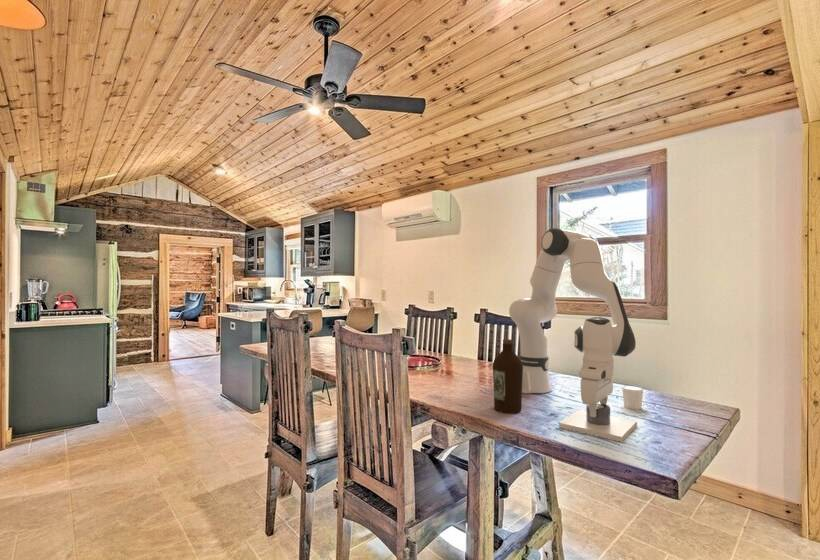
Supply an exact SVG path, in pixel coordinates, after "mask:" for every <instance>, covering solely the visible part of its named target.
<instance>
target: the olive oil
mask: <svg viewBox="0 0 820 560" xmlns="http://www.w3.org/2000/svg"><path fill="white" fill-rule="evenodd" d="M502 342H503V343H502V351H500V353H499V354H498V355H497V356H496V357H495V358H494V359H493V363H492V381H493V382H492V383H493V385H492V386H493V402H494V403H493V406H494V408H493V409H494V410H495V411H497V412H499V413H502V414H503V413H504V414H519V413H520V412H522V401H523V400H522V398H523V397H522V395H523V393H522V378H523V365H522V362H521V360H520V358H519V357H518V356H519V355H517V354H516V353H515V351H513V340H512V339H510V338H509V339H506V338H505V339H502Z"/></svg>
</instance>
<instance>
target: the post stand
mask: <svg viewBox="0 0 820 560" xmlns="http://www.w3.org/2000/svg"><path fill="white" fill-rule="evenodd" d="M596 408H604V406H602V405H597V406H596ZM637 426H638V420H634V419H629V418H624V417H619V416H614V415H610V424H609V425H595V424H591V423H589V422H587V420H586V410H583V409H577V411H574V412H573V413H571V414H570V415H568V416H567V417H566V418H564V419H563V420H561V421H560V422H558V427H561V428H560V429H563V428H565V430H568V429H569V430H568V431H572V430H574V431H573V432H576V431H579V432H578V433H580V432H583V433H582V434H585V433H588V434H587V435H589V434H592V435H591V436H593V435H597V436H596V437H598V436H601V437H600V438H602V437H605V438H604V439H606V438H609V439H608V440H610V439H612V440H611V441H615V440H616V442H619V441H620V442H619V443H623V442H624V440H625V439H626V438H627V437H628V436H629V435H630V434H631V433H632V432H633V431H634V430H635V428H637Z"/></svg>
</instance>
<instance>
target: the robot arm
mask: <svg viewBox="0 0 820 560" xmlns="http://www.w3.org/2000/svg"><path fill="white" fill-rule="evenodd" d="M541 247H542V249H541V251H540V253H539V255H538V258H537V260H536V263H535V265H534V269H533V271H532V274H531V277H530V280H529V283H530V285H531V289H532V291H531V296H530V297H525V298H524V297H523V298H522V297H521V298H520V299H516V300H515V301H513V302H511V304H510V306H509V308H508V313H509V317H510V319H511V320H512V322H514V323H515V326H516V328H517V332H518V334H519V341H520V342H519V343H520V344H519V345H520V351H519V352H520V354H519V355H517V356H518V357H519V358H520V360H521V362H522V365H523V378H522V394H544V393H549V392H551V391H552V386H551V382H550V378H549V368H550V367H549V366H550V363H549V362H550V361H549V356H548V338H547V337H548V336H546V335H545V334H544V333H543V329H542V326H541V323H547V322H550V321H552V320H553V319H555V318H556V316H557V314H558V307H557V304H556V293H557V288H558V285H559V282H560V280H561V277H562V274H563V271H564V269H565V265H566V263H567V261H569V268H570V269H569V271H570V278H571V282H572V284H573V285H574V286H575V288H577V289H578V290H579V291H581V292H583V293H585V294H588V295H591V296H594V297H595V298H598V299H600V300H602V301H604V302H605V303H606V304H607V306H608V309H609V313H610V316H611V319H612V321H611V320H610V319H608V318H606V317H602V316H591V317H587V318H585V319H584V324H583V325H580V326H579V327H577V329H575V330H574V348H575V350H577V351H579V352H580V353H582V354H583V356H582V365H581V368H580V369H579V371H578V377H579V378H581V380H580V398H581V402H582V404H584V405H586V404H588V407H589V411H590V416H591V417H596V416H597V411H596V406H597V403H601V404H605V405H608V404H607V403H608V398H609V396H610V395H611V394H612V393H613V391H614V383H613V382H614V380H613V377H614V375H615V372H614V371H615V368H614V367H615V366H614V365H615V364H614V357H613V356H615V357H623V358H624V357H627V356H629V355H630V354H632V352H634V351H635V349H636V344H637V343H636V337H635V334H634V331H633V329H632V327H631V324H630V322H629V319H628V318H629V317H628V315H627V312H626V309H625V306H624V302H623V300H622V296H621V293H620V290H619V287H618V285H617V284H616V282H615V280H614V281H613V280H611V279H610V278H609V277H608V275H607V273H606V271H605V267H604V266H605V265H604V261H603V259H604V258H603V254H602V250H601V248H600V244H599V241H598V238H597V237H594V236H593V235H590V234H585V233H583V232H580V231H577V230H568V229H562V228H559V227H558V228H557V227H555V228H549V229H548V230H546V231H545V233H544V234H543V236H542V238H541ZM612 323H613V324H612Z"/></svg>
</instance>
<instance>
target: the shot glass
mask: <svg viewBox="0 0 820 560" xmlns="http://www.w3.org/2000/svg"><path fill="white" fill-rule="evenodd" d="M621 388H622V389H621V390H622V398H623V399H622V400H623V401H622V402H623V407H624V408H625V409H626V408H627V409H631V410H641V409H642V407H643V398H644V397H643V395H644V388H642V387H640V386H634V385H624V386H623V385H622V386H621Z"/></svg>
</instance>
